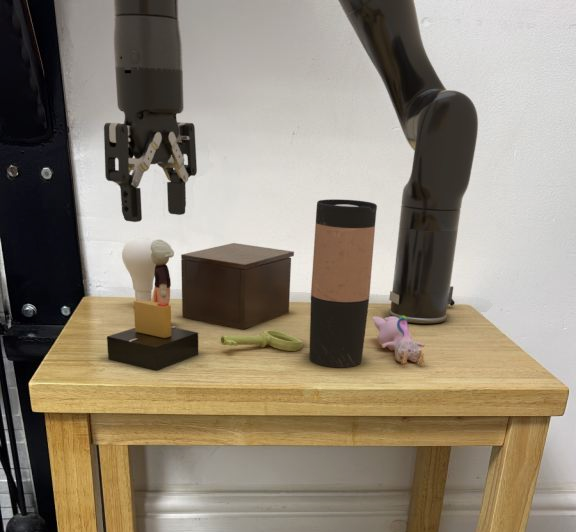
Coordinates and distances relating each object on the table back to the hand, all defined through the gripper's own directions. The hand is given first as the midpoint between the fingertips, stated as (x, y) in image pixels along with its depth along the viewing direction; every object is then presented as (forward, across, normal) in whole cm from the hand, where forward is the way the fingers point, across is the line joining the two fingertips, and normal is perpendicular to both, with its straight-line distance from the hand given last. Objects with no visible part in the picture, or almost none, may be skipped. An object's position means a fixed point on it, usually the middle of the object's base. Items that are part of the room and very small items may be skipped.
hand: (155, 217), depth 96 cm
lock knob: (+14, 0, -1) cm, 14 cm away
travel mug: (+18, -14, +19) cm, 30 cm away
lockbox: (+18, -26, -5) cm, 31 cm away
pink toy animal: (+18, -22, +24) cm, 38 cm away
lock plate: (+18, 0, -1) cm, 18 cm away
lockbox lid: (+9, -26, -5) cm, 28 cm away
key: (+18, -12, +8) cm, 23 cm away
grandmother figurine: (+18, -12, -9) cm, 23 cm away
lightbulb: (+18, -21, -20) cm, 34 cm away
